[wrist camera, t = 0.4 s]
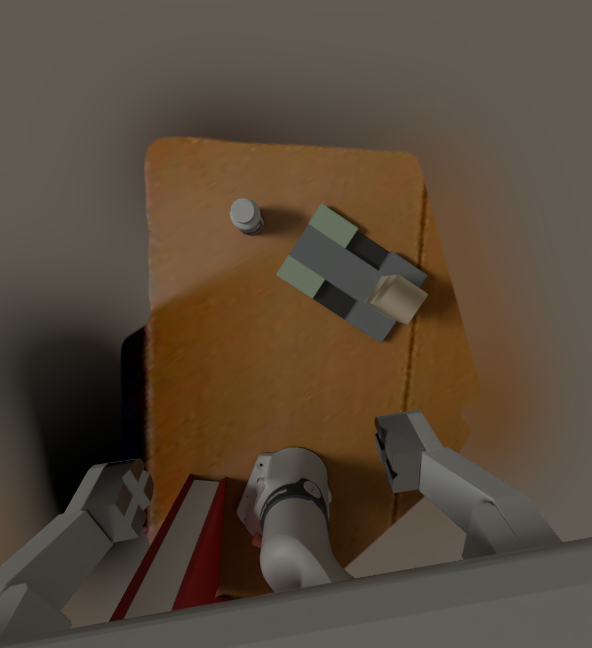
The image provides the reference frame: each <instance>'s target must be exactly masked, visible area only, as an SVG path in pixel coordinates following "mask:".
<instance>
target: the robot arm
mask: <svg viewBox="0 0 592 648" xmlns="http://www.w3.org/2000/svg"><path fill="white" fill-rule="evenodd" d="M375 427H376V429H377V433H376V434H375V439H376V446H377V451H378V454H379V457H380V460H381V463H383V464H384V465H385V466H386V476H387V478H388V481H389V484H390V486H391V489H392V491H393V493H397V492H404V491H411V490H418V489H419V491H420V492H421V493H422V494H423V495H425V496H426V497H427V498H428V499H429V500H430V501H431V502H432V503H433V504H435V505H436V506H437V507H438V508H439V509H440V510H441V511H442V512H443V513H445V514H446V515H447V516H448V517H449V518H450V519H451V520H452V521H453V522H455V523H456V524H457V525H458V526H459V527H460V528H461V529H462V530H463V531H465V532H466V533H467V535H466V540H465V544H464V549H463V553H462V557H463V560H459V561H453V562H448V563H442V564H436V565H430V566H424V567H419V568H413V569H407V570H401V571H396V572H390V573H384V574H379V575H373V576H368V577H361V578H356V579H355V578H354V577H352V576H351V575H350V574H348V572H346V571H345V570H344V569H343V568H342V567H341V566H340V564H339V563H338V562H337V560H336V559H335V557H334V555H333V553H332V549H331V546H330V541H329V536H328V528H329V503H330V502H331V500H332V494H331V491H330V489H329V487H328V475H327V470H326V467H325V465H324V463H323V462H322V460H321V459H320V458H319V457H318V456H317V455H316V454H315V453H313V452H311V451H309V450H307V449H304V448H297V447H292V448H286V449H283V450H280V451H278V452H275V453H263V454H260V455H259V456H258V458H257V460H256V463H255V465H254V468H253V470H252V473H251V475H250V477H249V480H248V482H247V485H246V487H245V490H244V492H243V495H242V497H241V499H240V502H239V504H238V507H237V515H238V517H239V519H240V520H241V521H242V523H243V524H244V525H245V526H246V529H247V530H248V532H249V533H250V534H251V535H252V536H253V538H252V542H251V544H252V545H254V546H257V547H258V548H259V549H261V553H260V566H261V571H262V574H263V576H264V578H265V580H266V582H267V583H268V584H269V586H270V587H271V588H272V590H273V591H274V592H275V593H270V594H264V595H258V596H253V597H247V598H241V599H236V600H230V601H224V602H219V603H213V604H207V605H201V606H196V607H190V608H184V609H179V610H173V611H167V612H162V613H156V614H150V615H145V616H139V617H133V618H128V619H122V620H116V621H110V622H105V623H99V624H93V625H88V626H82V627H76V628H71V626H72V624H71V620H70V619H69V618H67V617H66V616H65V615H64V614H62V613H61V612H60V611H61V610H62V608H63V607H64V606H65V605H66V603H67V602H68V601H69V600H70V598H71V597H72V596H73V594H74V593H75V592H76V591H77V589H78V588H79V586H80V585H81V584H82V583H83V582H84V580H85V579H86V578H87V577H88V575H89V574H90V573H91V571H92V570H93V569H94V568H95V566H96V565H97V564H98V562H99V561H100V560H101V559H102V557H103V556H104V555H105V554H106V552H107V551H108V550H109V548H110V547H111V546H112V545H113V542H118V541H123V540H128V539H133V538H137V537H139V535H140V532H141V529H142V526H143V523H144V520H145V518H146V515H145V512H144V509H145V508H146V507H147V506H148V505H149V504H150V502H151V499H152V496H153V488H154V484H153V480H152V477H151V475H150V473H148V472H146V471H144V470H143V468H144V466H145V465H144V463H143V462H142V460H141V459H133V460H126V461H120V462H113V463H108V464H101V465H94V466H93V467H92V468H90V469H89V471H88V472H87V474H86V476H85V478H84V479H83V481H82V483H81V485H80V486H79V488H78V490H77V492H76V494H75V495H74V497H73V499H72V501H71V502H70V504H69V506H68V508H67V509H66V511H65V513H64V514H61V515H58V516H57V517H56V518H55V519H54V520H53V521H52V522H50V523H49V524H48V525H47V526H46V527H45V528H44V529H43V530H41V531H40V532H39V533H38V534H37V535H36V536H35V537H34V538H32V539H31V540H30V541H29V542H28V543H27V544H26V545H25V546H23V547H22V548H21V549H20V550H19V551H18V552H17V553H15V554H14V555H13V556H12V557H11V558H10V559H9V560H8V561H6V562H5V563H4V564H3V565H2V566H1V567H0V648H592V537H590V538H584V539H579V540H573V541H567V542H562V541H561V540H560V539H559V537H558V536H557V535H556V533H555V532H554V531H553V529H552V528H551V527H550V525H549V524H548V523H547V521H546V520H545V519H544V518H543V516H542V515H541V514H540V512H539V511H538V510H537V508H536V507H535V506H534V505H533V503H532V502H531V501H530V499H529V498H528V497H527V496H526V495H525V494H524V493H522V492H520V491H519V490H517V489H516V488H514V487H512V486H510V485H509V484H507V483H506V482H504V481H503V480H501V479H499V478H498V477H496V476H494V475H493V474H491V473H489V472H488V471H486V470H485V469H483V468H481V467H480V466H478V465H476V464H475V463H473V462H471V461H470V460H468V459H467V458H465V457H463V456H462V455H460V454H458V453H457V452H455V451H453V450H452V449H450V448H449V447H447V448H443V446H442V444H441V443H440V441H439V440H438V438H437V436H436V435H435V433H434V431H433V430H432V428H431V427H430V425H429V423H428V422H427V420H426V418H425V417H424V415H423V414H422V412H421V411H420V410H414V411H408V412H404V413H403V412H401V413H396V414H391V415H385V416H380V417H375ZM260 464H263V465H260ZM245 518H246V519H245ZM70 628H71V629H70Z"/></svg>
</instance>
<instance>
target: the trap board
mask: <svg viewBox="0 0 592 648" xmlns="http://www.w3.org/2000/svg"><path fill="white" fill-rule="evenodd" d="M357 230H358V228H357V227H355V226H354V225H353V224H351V223H350V222H348V221H347V220H345V219H344V218H342V217H341V216H339V215H338V214H336V213H335V212H333V211H332V210H330V209H329V208H327V207H326V206H325V205H323V204H322V203H321V205H320V206H319V208H318V209H317V211H316V213H315V214H314V216H313V217H312V219H311V220H310V222H309V224H308V225H307V227H306V228H305V230H304V232H303V233H302V235H301V236H300V238H299V239H298V241H297V243H296V244H295V246H294V247H293V249H292V251H291V252H290V254H289V255H288V257H287V258H286V260H285V262H284V263H283V265H282V266H281V268H280V270H279V271H278V273H277V274H276V275H277V276H279V277H280V278H282V279H283V280H285V281H286V282H288V283H289V284H291V285H292V286H294V287H296V288H297V289H299V290H300V291H302V292H303V293H305V294H306V295H308V296H309V297H311V298H312V299H314V300H316V301H317V302H319V303H320V304H322V305H323V306H325V307H326V308H328V309H329V310H331V311H332V312H334V313H336V314H337V315H339V316H340V317H342V318H343V319H345V320H346V321H348V322H349V323H351V324H352V325H354V326H355V327H357V328H359V329H360V330H362V331H363V332H365V333H366V334H368V335H369V336H371V337H372V338H374V339H375V340H377V341H378V342H380V343H382V341H383V340H384V338H385V337H386V336H387V334H388V333H389V331H390V330H391V328H392V327H393V325H394V324H395V322H396V321H395V320H392V319H390V318H388V317H386V316H385V315H383V314H382V313H380V312H379V311H377V310H376V309H374V308H373V307H371V306H370V305H368V304H367V303H365V301H366V299H367V298H368V296H369V295H370V293H371V292H372V290H373V289H374V287H375V286H376V284H377V283H378V281H379V280H380V278H381V277H382V276H390V275H400V276H402V277H403V278H405V279H406V280H408V281H409V282H411V283H412V284H414V285H415V286H417V287H418V288H420V286H421V285H422V283H423V282H424V280H425V279H426V277H427V276H428V275H426V274H425V273H423V272H422V271H420V270H419V269H417V268H416V267H414V266H413V265H411V264H410V263H408V262H407V261H405V260H404V259H403V258H401V257H400V256H398V255H397V254H395V253H394V252H387V251H386V250H384V249H383V248H381V247H380V246H378V245H377V244H376V243H374V242H373V241H371V240H370V239H368V238H367V237H365V236H364V235H362V234H361V233H359V232H358V231H357Z"/></svg>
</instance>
